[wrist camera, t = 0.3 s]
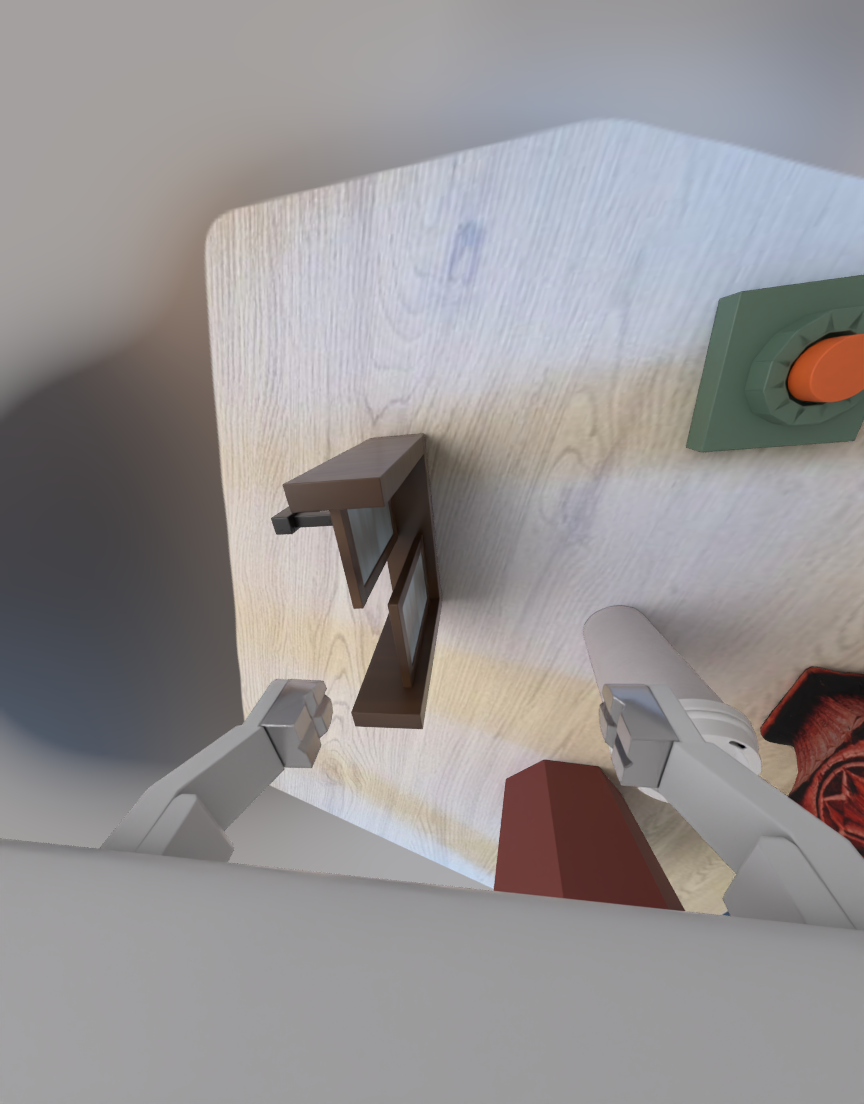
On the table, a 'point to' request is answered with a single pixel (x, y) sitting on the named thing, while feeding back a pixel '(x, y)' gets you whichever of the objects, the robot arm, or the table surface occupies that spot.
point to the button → (829, 370)
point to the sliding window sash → (352, 541)
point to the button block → (774, 368)
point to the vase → (826, 747)
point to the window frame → (416, 600)
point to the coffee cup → (664, 680)
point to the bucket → (576, 840)
